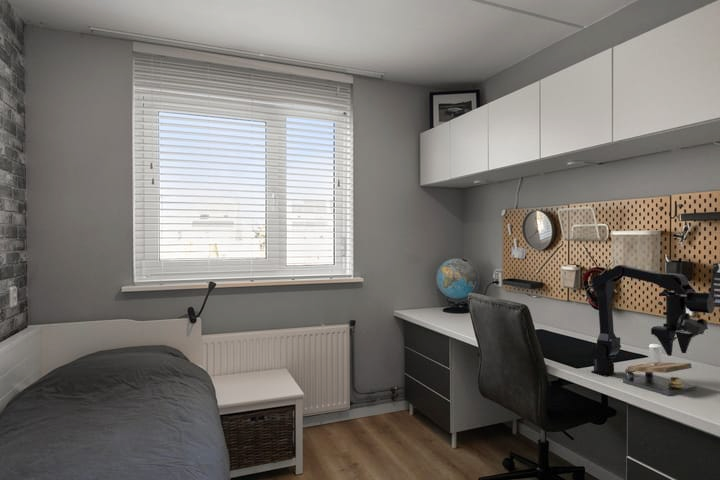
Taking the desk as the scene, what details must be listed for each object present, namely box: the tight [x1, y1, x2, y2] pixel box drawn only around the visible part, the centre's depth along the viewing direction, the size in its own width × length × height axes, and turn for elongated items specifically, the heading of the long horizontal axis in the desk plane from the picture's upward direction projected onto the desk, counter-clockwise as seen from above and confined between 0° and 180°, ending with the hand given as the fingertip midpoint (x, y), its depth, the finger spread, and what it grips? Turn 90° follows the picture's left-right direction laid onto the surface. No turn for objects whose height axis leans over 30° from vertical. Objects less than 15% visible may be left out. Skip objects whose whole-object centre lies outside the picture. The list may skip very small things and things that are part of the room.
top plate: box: [624, 361, 693, 374], centre depth 158 cm, size 15×14×3 cm
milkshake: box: [648, 343, 663, 363], centre depth 183 cm, size 4×5×10 cm
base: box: [622, 372, 698, 397], centre depth 157 cm, size 16×16×4 cm
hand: (676, 354), depth 151 cm, fingers open, 8 cm apart
